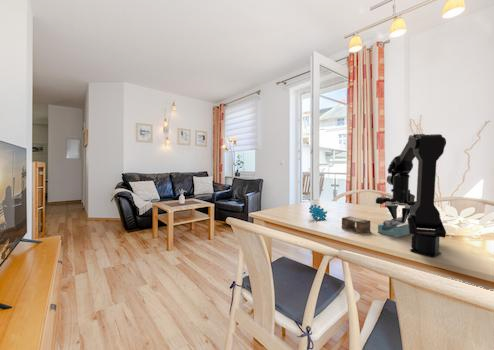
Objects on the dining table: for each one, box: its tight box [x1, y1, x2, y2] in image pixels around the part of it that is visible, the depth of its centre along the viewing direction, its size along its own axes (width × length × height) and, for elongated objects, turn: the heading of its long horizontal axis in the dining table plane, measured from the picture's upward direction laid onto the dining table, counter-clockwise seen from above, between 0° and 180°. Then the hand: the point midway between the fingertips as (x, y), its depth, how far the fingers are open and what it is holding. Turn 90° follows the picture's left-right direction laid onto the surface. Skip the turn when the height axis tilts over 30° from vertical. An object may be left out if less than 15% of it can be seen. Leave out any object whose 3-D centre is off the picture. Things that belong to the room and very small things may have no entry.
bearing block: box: [341, 215, 371, 234], centre depth 103 cm, size 10×6×5 cm, turn 30°
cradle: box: [377, 223, 410, 238], centre depth 98 cm, size 8×12×4 cm, turn 120°
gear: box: [308, 204, 328, 221], centre depth 124 cm, size 11×6×10 cm
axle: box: [383, 216, 405, 228], centre depth 97 cm, size 12×3×3 cm, turn 120°
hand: (399, 222), depth 99 cm, fingers closed on axle, 3 cm apart
